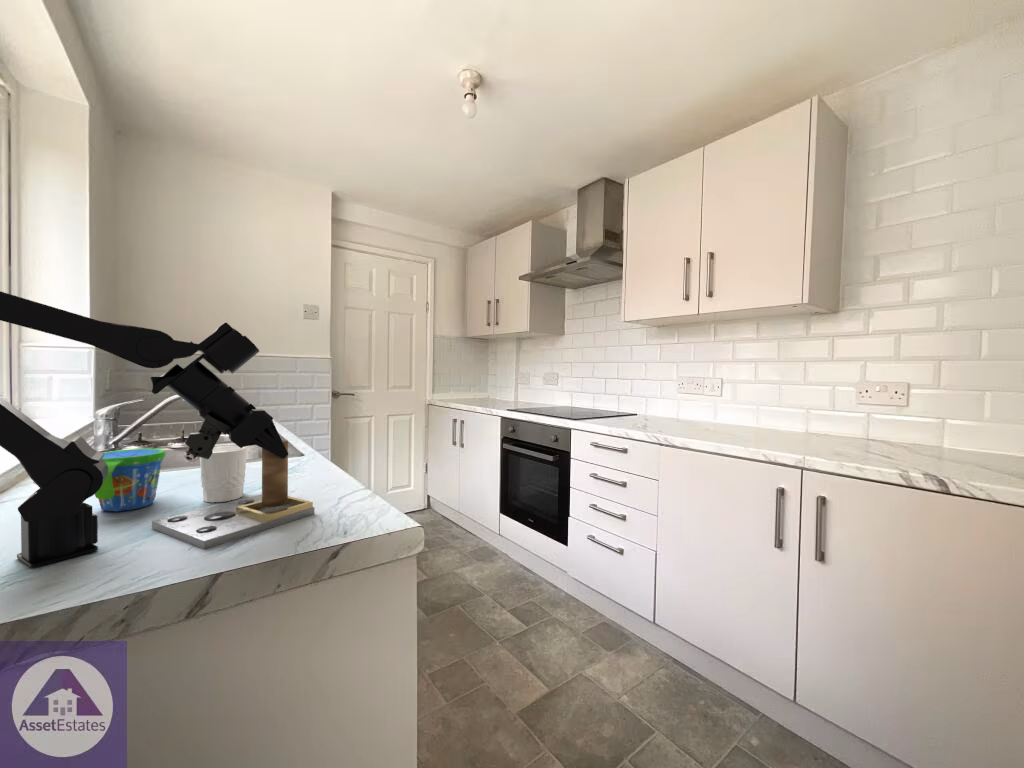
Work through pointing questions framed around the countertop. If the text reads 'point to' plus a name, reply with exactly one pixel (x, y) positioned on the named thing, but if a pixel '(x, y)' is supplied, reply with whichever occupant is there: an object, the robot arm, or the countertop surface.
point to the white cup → (223, 474)
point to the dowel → (274, 478)
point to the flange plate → (231, 520)
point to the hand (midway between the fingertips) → (283, 454)
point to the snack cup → (130, 479)
